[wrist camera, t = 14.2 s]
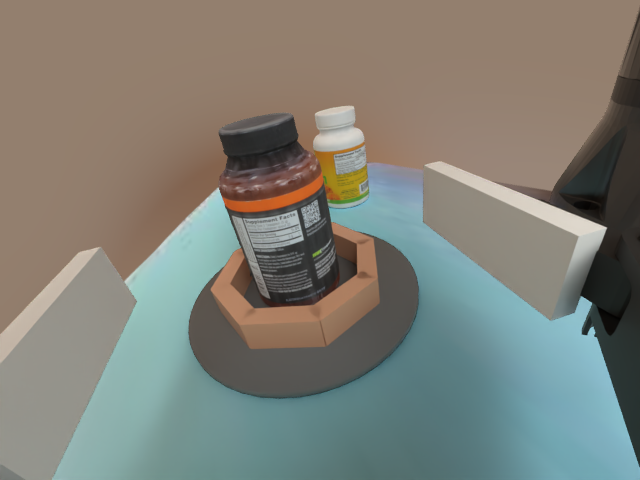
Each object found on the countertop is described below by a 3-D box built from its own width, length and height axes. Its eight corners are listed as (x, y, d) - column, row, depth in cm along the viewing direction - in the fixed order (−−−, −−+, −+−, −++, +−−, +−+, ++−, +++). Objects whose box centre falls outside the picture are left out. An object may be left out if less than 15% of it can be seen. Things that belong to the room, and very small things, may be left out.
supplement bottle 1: (277, 260, 24) (234, 117, 18) (347, 261, 22) (323, 102, 17) (245, 314, 19) (173, 141, 14) (332, 319, 18) (291, 124, 12)
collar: (313, 231, 27) (309, 213, 26) (410, 277, 20) (410, 253, 19) (205, 291, 22) (195, 271, 21) (278, 385, 14) (268, 360, 13)
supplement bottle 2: (319, 196, 36) (304, 112, 31) (361, 186, 36) (352, 102, 31) (328, 214, 31) (312, 118, 26) (376, 202, 32) (368, 106, 27)
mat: (318, 218, 31) (317, 214, 30) (468, 279, 19) (469, 273, 19) (165, 299, 23) (162, 294, 23) (261, 480, 12) (258, 474, 11)
